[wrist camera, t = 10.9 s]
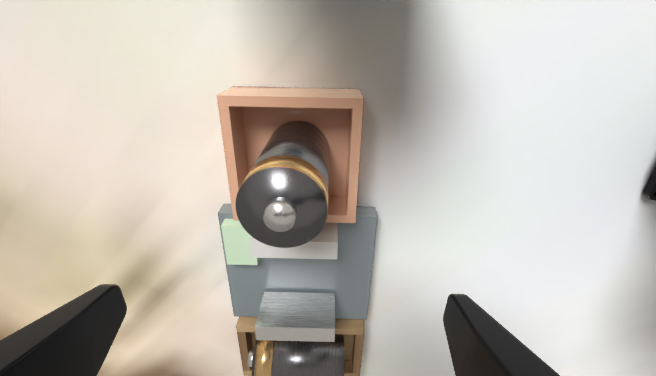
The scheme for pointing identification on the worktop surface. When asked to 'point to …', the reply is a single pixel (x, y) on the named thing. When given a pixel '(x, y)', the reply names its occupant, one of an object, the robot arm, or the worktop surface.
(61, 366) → the robot arm
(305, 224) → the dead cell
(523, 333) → the worktop surface
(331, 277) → the grey flat block
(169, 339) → the worktop surface
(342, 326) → the trough
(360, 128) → the salmon pink square tray
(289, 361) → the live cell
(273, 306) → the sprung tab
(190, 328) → the worktop surface
